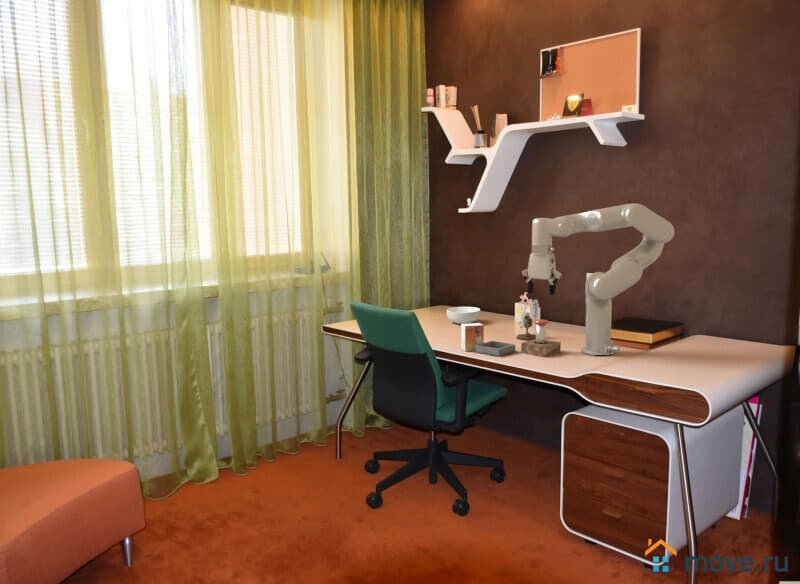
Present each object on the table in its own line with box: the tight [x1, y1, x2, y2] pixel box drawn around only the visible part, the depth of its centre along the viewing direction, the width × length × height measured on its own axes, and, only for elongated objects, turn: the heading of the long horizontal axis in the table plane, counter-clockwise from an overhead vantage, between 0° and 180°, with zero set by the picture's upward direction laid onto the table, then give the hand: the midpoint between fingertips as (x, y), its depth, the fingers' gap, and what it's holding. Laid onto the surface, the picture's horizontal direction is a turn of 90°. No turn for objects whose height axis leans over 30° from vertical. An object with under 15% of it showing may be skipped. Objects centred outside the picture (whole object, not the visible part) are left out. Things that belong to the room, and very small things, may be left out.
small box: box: [460, 322, 485, 352], centre depth 264 cm, size 8×6×10 cm
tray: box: [475, 340, 516, 358], centre depth 259 cm, size 11×11×3 cm
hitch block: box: [520, 339, 561, 358], centre depth 257 cm, size 11×11×4 cm
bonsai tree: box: [516, 311, 536, 342], centre depth 284 cm, size 11×9×12 cm
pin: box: [533, 319, 549, 345], centre depth 257 cm, size 5×5×13 cm
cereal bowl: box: [446, 306, 481, 325], centre depth 322 cm, size 17×17×7 cm
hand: (541, 293), depth 254 cm, fingers open, 9 cm apart
